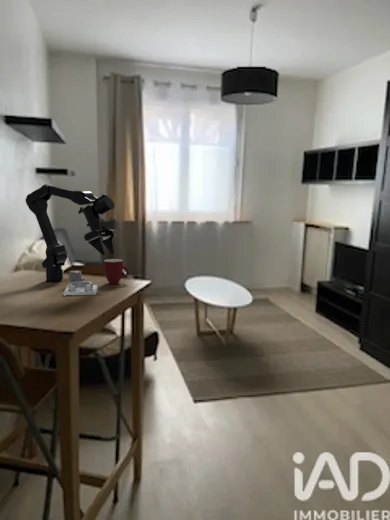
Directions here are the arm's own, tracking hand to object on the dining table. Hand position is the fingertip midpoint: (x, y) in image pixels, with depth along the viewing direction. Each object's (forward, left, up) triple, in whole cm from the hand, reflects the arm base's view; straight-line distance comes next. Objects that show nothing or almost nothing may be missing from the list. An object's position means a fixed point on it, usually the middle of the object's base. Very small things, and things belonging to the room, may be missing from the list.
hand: (108, 254), depth 166 cm
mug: (+3, +6, -14) cm, 16 cm away
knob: (-14, +3, -14) cm, 20 cm away
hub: (-11, -7, -14) cm, 19 cm away
